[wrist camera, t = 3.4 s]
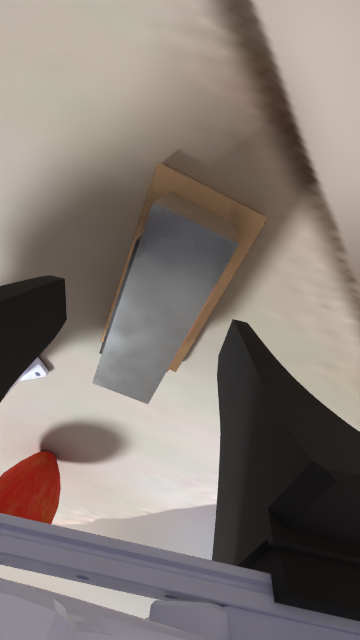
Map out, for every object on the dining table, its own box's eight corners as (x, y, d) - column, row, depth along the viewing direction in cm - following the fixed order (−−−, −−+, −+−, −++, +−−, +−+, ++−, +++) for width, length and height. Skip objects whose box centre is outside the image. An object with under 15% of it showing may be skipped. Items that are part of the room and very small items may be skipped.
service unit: (105, 334, 22) (72, 385, 17) (161, 162, 15) (132, 162, 10) (177, 364, 23) (166, 420, 18) (264, 215, 15) (289, 241, 10)
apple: (44, 473, 38) (-10, 571, 29) (5, 441, 34) (-72, 542, 25) (89, 468, 35) (46, 574, 26) (53, 432, 32) (-12, 542, 22)
